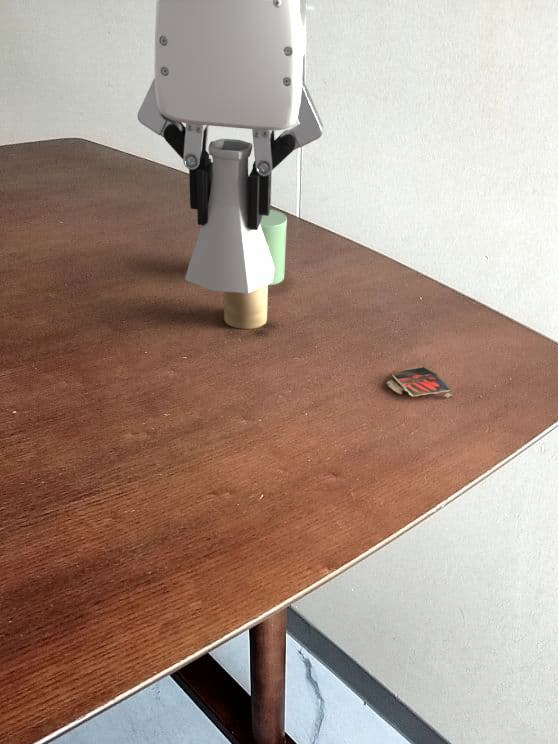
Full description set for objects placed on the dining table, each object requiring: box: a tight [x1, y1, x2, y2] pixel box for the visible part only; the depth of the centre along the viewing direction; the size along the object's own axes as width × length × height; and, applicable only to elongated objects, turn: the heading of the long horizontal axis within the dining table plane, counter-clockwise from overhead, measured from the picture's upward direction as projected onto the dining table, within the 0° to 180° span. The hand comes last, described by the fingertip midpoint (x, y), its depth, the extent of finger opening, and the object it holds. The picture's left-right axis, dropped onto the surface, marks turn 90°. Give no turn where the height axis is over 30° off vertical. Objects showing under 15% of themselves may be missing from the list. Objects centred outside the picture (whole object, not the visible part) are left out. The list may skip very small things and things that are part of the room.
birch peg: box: [223, 244, 269, 330], centre depth 78 cm, size 4×4×7 cm
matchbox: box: [386, 365, 457, 398], centre depth 72 cm, size 5×5×1 cm
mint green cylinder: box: [260, 208, 288, 287], centre depth 86 cm, size 5×5×6 cm
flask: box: [184, 138, 275, 293], centre depth 66 cm, size 7×7×10 cm
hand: (230, 218), depth 66 cm, fingers closed on flask, 3 cm apart
